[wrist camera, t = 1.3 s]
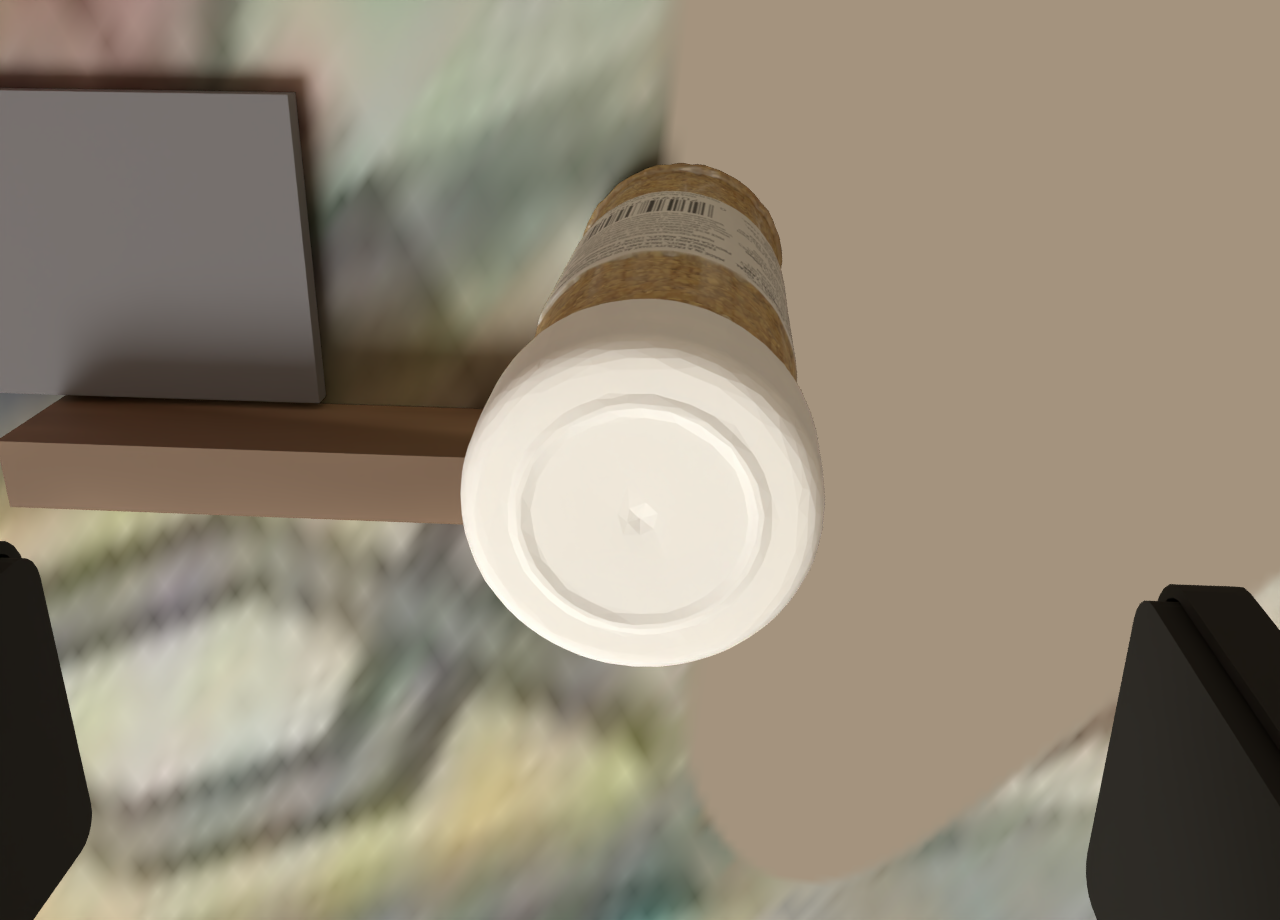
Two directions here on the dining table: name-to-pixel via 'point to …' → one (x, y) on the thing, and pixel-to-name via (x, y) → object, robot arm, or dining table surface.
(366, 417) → the guide rail
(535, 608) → the sprinkles bottle
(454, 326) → the dining table surface
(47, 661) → the robot arm
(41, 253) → the end pad
